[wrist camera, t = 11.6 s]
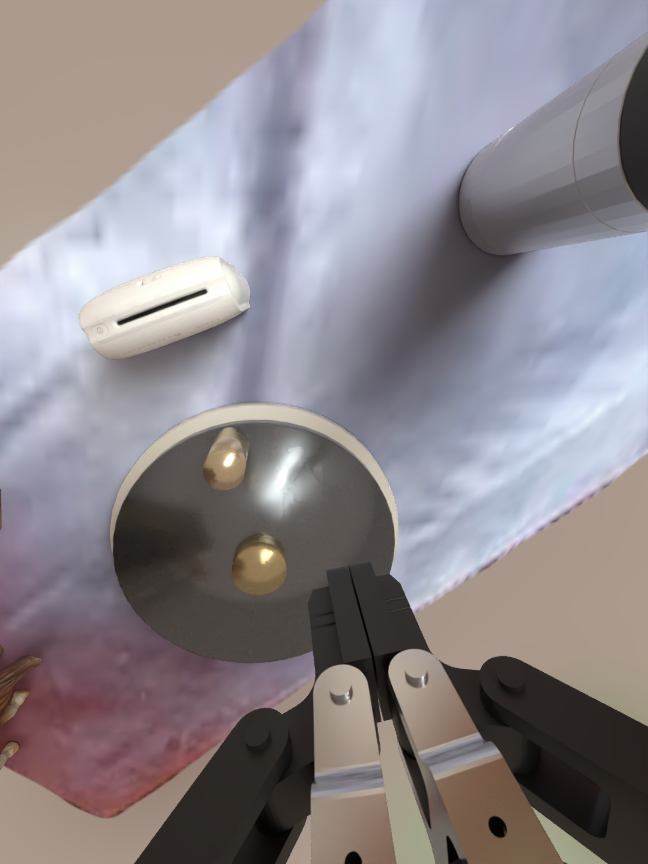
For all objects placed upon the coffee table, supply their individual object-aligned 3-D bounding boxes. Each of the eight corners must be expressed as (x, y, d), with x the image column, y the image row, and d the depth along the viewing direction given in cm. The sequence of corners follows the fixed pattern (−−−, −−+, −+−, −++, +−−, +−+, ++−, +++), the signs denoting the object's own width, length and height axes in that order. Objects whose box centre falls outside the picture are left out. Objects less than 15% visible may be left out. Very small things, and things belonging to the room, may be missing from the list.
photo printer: (149, 349, 36) (89, 375, 24) (126, 301, 34) (49, 304, 23) (258, 309, 36) (250, 315, 24) (239, 259, 34) (220, 241, 23)
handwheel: (77, 449, 35) (26, 488, 28) (375, 395, 37) (400, 419, 30) (164, 673, 44) (143, 745, 37) (401, 621, 46) (424, 681, 39)
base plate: (294, 341, 37) (295, 343, 35) (438, 551, 46) (445, 562, 45) (52, 511, 39) (41, 522, 38) (236, 677, 49) (234, 693, 47)
